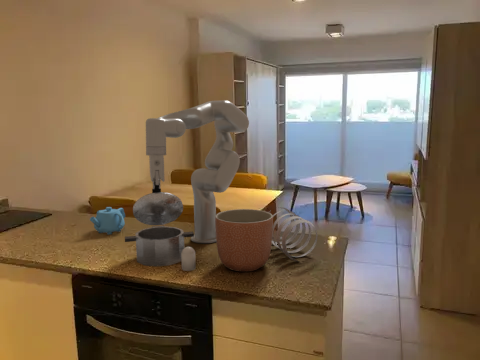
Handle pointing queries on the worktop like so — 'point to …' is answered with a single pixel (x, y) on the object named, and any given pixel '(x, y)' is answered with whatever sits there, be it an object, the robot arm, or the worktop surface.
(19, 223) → the worktop surface
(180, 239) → the pot
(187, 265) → the salt cellar
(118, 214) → the teapot
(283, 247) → the spring
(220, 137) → the robot arm
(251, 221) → the planter
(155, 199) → the lid
